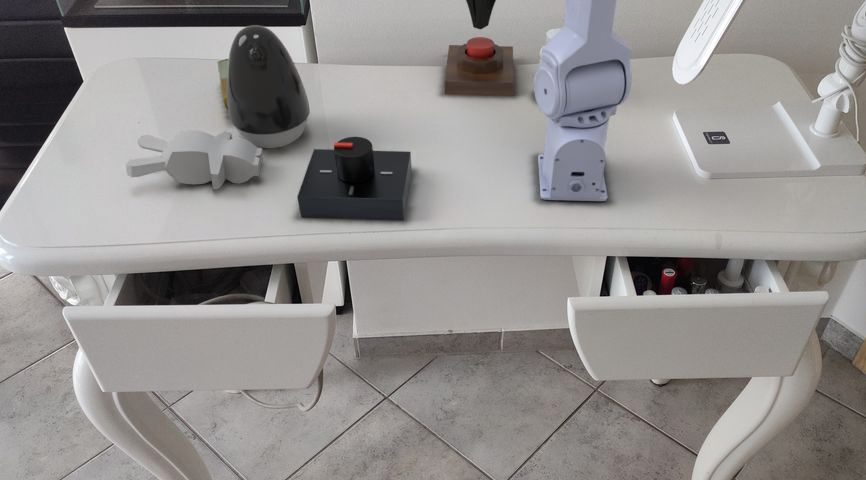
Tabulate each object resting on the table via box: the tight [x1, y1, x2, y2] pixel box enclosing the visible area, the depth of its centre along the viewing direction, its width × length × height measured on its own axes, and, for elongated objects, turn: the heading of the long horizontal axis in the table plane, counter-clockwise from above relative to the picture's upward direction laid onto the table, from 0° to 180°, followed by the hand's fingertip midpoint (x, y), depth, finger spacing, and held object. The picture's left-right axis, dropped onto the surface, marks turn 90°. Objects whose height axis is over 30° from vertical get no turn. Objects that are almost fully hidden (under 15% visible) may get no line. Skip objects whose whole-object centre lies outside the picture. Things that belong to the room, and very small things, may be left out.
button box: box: [444, 43, 515, 97], centre depth 108 cm, size 12×10×4 cm
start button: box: [466, 36, 495, 59], centre depth 106 cm, size 4×4×2 cm
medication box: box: [217, 58, 229, 115], centre depth 101 cm, size 12×3×4 cm, turn 18°
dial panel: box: [296, 148, 413, 221], centre depth 85 cm, size 10×12×3 cm
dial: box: [333, 136, 375, 183], centre depth 83 cm, size 4×4×4 cm
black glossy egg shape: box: [227, 24, 311, 149], centre depth 90 cm, size 10×10×15 cm
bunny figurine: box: [125, 129, 264, 190], centre depth 87 cm, size 10×5×15 cm
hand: (480, 26), depth 104 cm, fingers closed
